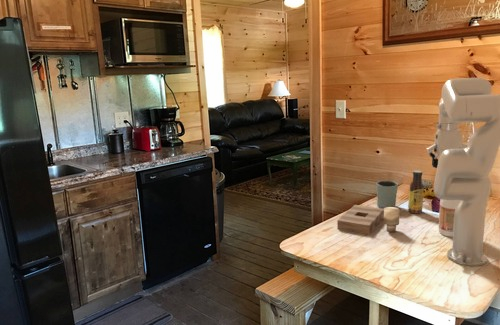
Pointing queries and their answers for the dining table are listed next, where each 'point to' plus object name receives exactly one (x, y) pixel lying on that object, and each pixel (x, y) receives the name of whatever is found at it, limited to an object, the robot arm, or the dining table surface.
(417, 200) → the sauce bottle
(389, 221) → the wooden peg
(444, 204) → the fruit juice
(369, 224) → the walnut slab
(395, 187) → the grey green cup
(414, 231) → the dining table surface
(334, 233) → the dining table surface
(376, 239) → the dining table surface
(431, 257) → the dining table surface
